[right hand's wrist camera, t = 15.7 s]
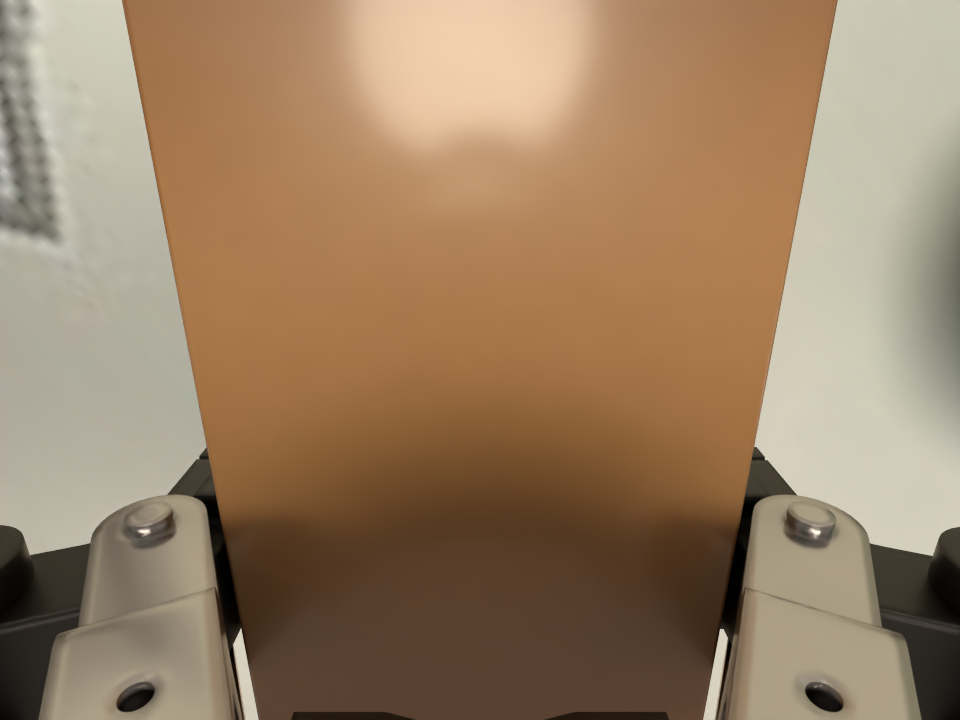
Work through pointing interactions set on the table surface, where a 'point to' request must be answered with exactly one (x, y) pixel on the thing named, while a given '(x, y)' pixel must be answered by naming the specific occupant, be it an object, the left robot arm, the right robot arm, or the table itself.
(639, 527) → the box
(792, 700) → the right robot arm
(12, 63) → the table surface
